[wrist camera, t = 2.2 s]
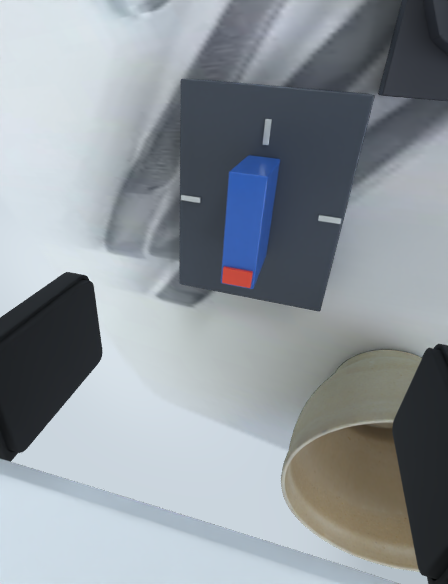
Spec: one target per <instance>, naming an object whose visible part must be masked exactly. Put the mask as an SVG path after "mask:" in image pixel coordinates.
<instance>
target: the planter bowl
mask: <svg viewBox="0 0 448 584" xmlns="http://www.w3.org/2000/svg"><path fill="white" fill-rule="evenodd" d="M421 359H422V358H421V357H419V356H416V355H414V354H411V353H407V352H403V351H398V350H375V351H369V352H365V353H362V354H359V355H356V356H354V357H352V358H350V359H348V360H347V361H346V362H344V363H343V364H342V365H341V366H340V367H339V368H338V369H337V370H336V372H335V374H334V375H332V376H331V377H330V378H328V379H327V380H326V381H325V382H324V383H323V384H322V385H321V386H320V387H319V388H318V389H317V390H316V391H315V392H314V394H313V395H312V396H311V397H310V399H309V400H308V402H307V403H306V405H305V406H304V408H303V410H302V412H301V414H300V416H299V418H298V420H297V423H296V425H295V428H294V431H293V434H292V437H291V442H290V446H289V451H288V453H287V456H286V458H285V461H284V465H283V469H282V475H281V487H282V492H283V495H284V499H285V501H286V503H287V505H288V507H289V508H290V510H291V511H292V513H293V514H294V515H295V516H296V517H297V519H298V520H299V521H300V522H301V523H302V524H303V525H304V526H305V527H307V528H308V529H309V530H310V531H311V532H313V533H314V534H315V535H317V536H318V537H320V538H321V539H323V540H324V541H326V542H328V543H329V544H331V545H333V546H334V547H336V548H338V549H340V550H343V551H345V552H347V553H349V554H351V555H354V556H356V557H359V558H362V559H364V560H367V561H370V562H374V563H377V564H380V565H384V566H388V567H392V568H397V569H403V570H411V571H417V572H420V571H419V569H418V565H417V560H416V555H415V550H414V545H413V539H412V534H411V529H410V523H409V518H408V513H407V507H406V502H405V497H404V492H403V486H402V481H401V476H400V470H399V465H398V460H397V454H396V449H395V444H394V439H393V432H392V427H393V421H394V418H395V416H396V414H397V412H398V409H399V407H400V405H401V403H402V401H403V399H404V396H405V394H406V392H407V390H408V388H409V386H410V383H411V381H412V379H413V377H414V375H415V372H416V370H417V368H418V366H419V364H420V362H421Z"/></svg>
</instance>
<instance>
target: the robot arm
mask: <svg viewBox="0 0 448 584" xmlns="http://www.w3.org/2000/svg"><path fill="white" fill-rule="evenodd" d="M101 357H102V344H101V337H100V330H99V322H98V315H97V307H96V300H95V293H94V286H93V283H92V282H91V281H89V279H88V277H87V276H85V275H81V274H76V273H70V272H66V273H64V274H62V275H61V276H59V277H58V278H57V279H55V280H54V281H52V282H51V283H49V284H48V285H47V286H45V287H44V288H42V289H41V290H39V291H38V292H36V293H35V294H34V295H32V296H31V297H29V298H28V299H27V300H25V301H24V302H23V303H21V304H19V305H18V306H16V307H15V308H13V309H12V310H11V311H9V312H8V313H6V314H5V315H3V316H2V317H1V318H0V584H399V583H395V582H393V581H390V580H387V579H384V578H381V577H377V576H375V575H372V574H369V573H366V572H363V571H360V570H357V569H354V568H351V567H347V566H344V565H341V564H338V563H335V562H332V561H328V560H325V559H322V558H319V557H316V556H313V555H310V554H306V553H303V552H300V551H297V550H294V549H291V548H287V547H284V546H281V545H278V544H275V543H272V542H268V541H265V540H262V539H259V538H256V537H253V536H249V535H246V534H243V533H240V532H237V531H234V530H230V529H227V528H224V527H221V526H217V525H214V524H211V523H208V522H205V521H202V520H198V519H195V518H192V517H189V516H185V515H182V514H179V513H176V512H173V511H169V510H166V509H163V508H160V507H157V506H153V505H150V504H147V503H144V502H140V501H137V500H134V499H131V498H127V497H124V496H121V495H118V494H114V493H111V492H108V491H105V490H102V489H98V488H95V487H91V486H89V485H85V484H82V483H78V482H75V481H72V480H69V479H66V478H62V477H59V476H55V475H52V474H49V473H46V472H42V471H39V470H36V469H33V468H29V467H26V466H23V465H19V464H16V463H12V462H11V461H12V459H13V458H14V457H15V456H16V455H17V454H18V453H20V452H23V451H25V450H26V449H27V448H28V446H29V445H30V444H31V443H32V442H33V441H34V440H35V438H36V437H37V436H38V435H39V433H40V432H41V431H42V430H43V429H44V427H45V426H46V425H47V424H48V423H49V422H50V420H51V419H52V418H53V417H54V416H55V414H56V413H57V412H58V411H59V410H60V408H61V407H62V406H63V405H64V404H65V402H66V401H67V400H68V399H69V398H70V397H71V395H72V394H73V393H74V392H75V391H76V389H77V388H78V387H79V386H80V385H81V383H82V382H83V381H84V380H85V379H86V377H87V376H88V375H89V373H91V371H92V370H93V369H94V368H95V367H96V365H97V364H98V363H99V362H100V360H101ZM392 432H393V439H394V444H395V449H396V454H397V460H398V465H399V470H400V476H401V481H402V486H403V492H404V497H405V502H406V507H407V513H408V518H409V523H410V529H411V534H412V539H413V545H414V550H415V555H416V560H417V565H418V569H419V571H420V573H421V574H422V575H424V576H427V579H428V584H448V346H447V345H442V344H438V345H436V346H435V347H434V349H432V348H428V349H427V350H426V351H425V353H424V355H423V357H422V359H421V362H420V364H419V366H418V368H417V370H416V372H415V375H414V377H413V379H412V381H411V383H410V386H409V388H408V390H407V392H406V394H405V396H404V399H403V401H402V403H401V405H400V407H399V409H398V412H397V414H396V416H395V418H394V421H393V427H392Z"/></svg>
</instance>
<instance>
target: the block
mask: <svg viewBox="0 0 448 584" xmlns="http://www.w3.org/2000/svg"><path fill="white" fill-rule="evenodd" d="M378 94H379V95H383V96H394V97H406V98H418V99H429V100H441V101H448V0H402V3H401V7H400V11H399V15H398V19H397V23H396V27H395V30H394V34H393V38H392V42H391V46H390V50H389V54H388V58H387V62H386V65H385V69H384V73H383V77H382V81H381V85H380V89H379V93H378Z"/></svg>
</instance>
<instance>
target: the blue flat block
mask: <svg viewBox="0 0 448 584" xmlns="http://www.w3.org/2000/svg"><path fill="white" fill-rule="evenodd" d="M279 164H280V159H275V158H267V157H259V156H251V155H249V156H247V157H246V158H245V159H244V160H242V161H241V162H240V163H239V164H238V165H237V166H235V167H234V168H233V169H232V170H231V171H229V178H228V191H227V205H226V218H225V231H224V245H223V258H222V271H221V283H223V284H228V285H233V286H238V287H243V288H249V289H253V288H254V286H255V283H256V281H257V278H258V275H259V273H260V270H261V268H262V265H263V262H264V260H265V257H266V254H267V247H268V240H269V233H270V226H271V219H272V212H273V205H274V199H275V192H276V185H277V178H278V171H279Z"/></svg>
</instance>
